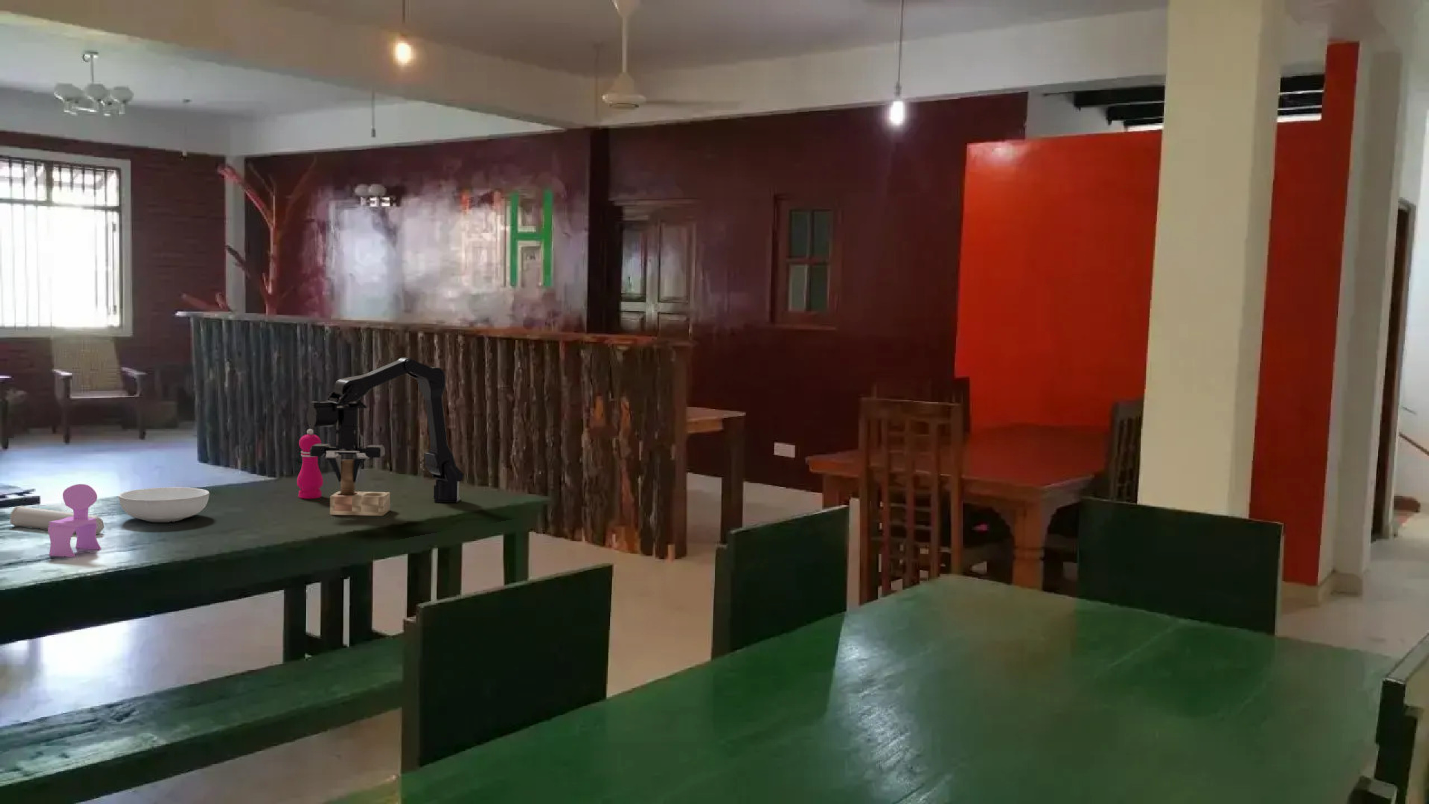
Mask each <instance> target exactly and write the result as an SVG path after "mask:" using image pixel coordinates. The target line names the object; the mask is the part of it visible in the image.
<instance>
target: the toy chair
mask: <svg viewBox="0 0 1429 804" xmlns="http://www.w3.org/2000/svg"><path fill="white" fill-rule="evenodd" d="M62 499H63V502H64V505H65V506H66V507H68V508H69V509H72V513H74V515H73V517H67V518H64V519H61V520H56V521H51V522H49V527H48V530H47V532H48V536H49V540H50V542H49V543H50V544H49V545H50V548H49V552H48V553H49V554H48V556H53V557H64V556H66V557H67V558H76V554H75V553H74V552H73V550H72V545H71V540H72V536H73V535H74V534H76V542H75V543H76V544H75V549H89V550H100V551H101V550H102V547H101V546H100V543H99V542H98V540H97V534H96V528H97V523H96V518H88V515H89V508H90V507H91V506H92V505H94V504H95V503H96V502H97V500H98V495H97V492H96V491H95V489H94V488H93V487H92V486H90V485H89V484H84V483H77V484H74V485H71V486H68V487H66V488H65V489H64V490H63V493H62ZM74 531H76V533H74Z"/></svg>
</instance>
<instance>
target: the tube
mask: <svg viewBox="0 0 1429 804" xmlns="http://www.w3.org/2000/svg"><path fill="white" fill-rule="evenodd" d="M73 515H74V513H73V512H69V511H61V510H54V509H53V510H52V509H44V508H37V507H29V506H25V505H19V506H14V508H13V509H12V511H11V513H10V515H9V521H10V522H9V523H10V525H13V527H21V528H28V527H32V528H31V529H36V528H40V529H39V530H44V529H45V530H47V531H48V527H49V522H51V521H56V520H61V519H64V518H67V517H73ZM88 518H96V523H97V528H96V535H99V534H100V533H101V532H103V530H104V529H105V524H104V520H103V519H102V518H101V517H100V516H99V515H95V514H88ZM73 534H76V531H74V533H73Z"/></svg>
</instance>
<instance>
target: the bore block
mask: <svg viewBox="0 0 1429 804" xmlns="http://www.w3.org/2000/svg"><path fill="white" fill-rule="evenodd" d="M390 498H391V493H390V491H389V492H385V491H383V492H382V491H355V495H354V496H348V495H341V490H339V491H337V492H334V493H333V494H332V495H330V497H329V515H334V516H335V515H337V516H339V515H340V516H381V517H382V516H384V515H385V514H387V513H388V512H389V511H391V507H390V506H391V504H390V502H391V499H390Z"/></svg>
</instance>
